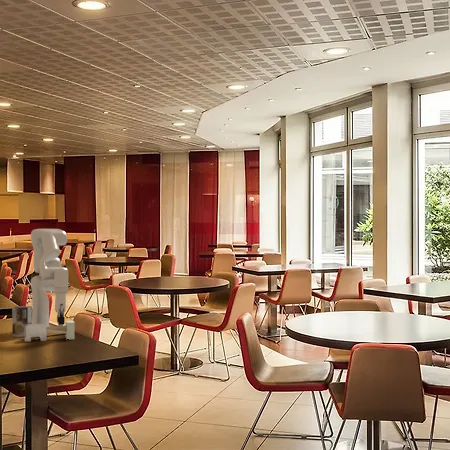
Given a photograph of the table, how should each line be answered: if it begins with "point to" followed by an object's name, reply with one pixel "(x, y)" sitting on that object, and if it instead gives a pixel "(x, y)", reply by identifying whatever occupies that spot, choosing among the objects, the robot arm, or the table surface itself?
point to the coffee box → (20, 320)
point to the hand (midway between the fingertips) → (60, 323)
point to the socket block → (70, 329)
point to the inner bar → (56, 329)
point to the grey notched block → (35, 331)
